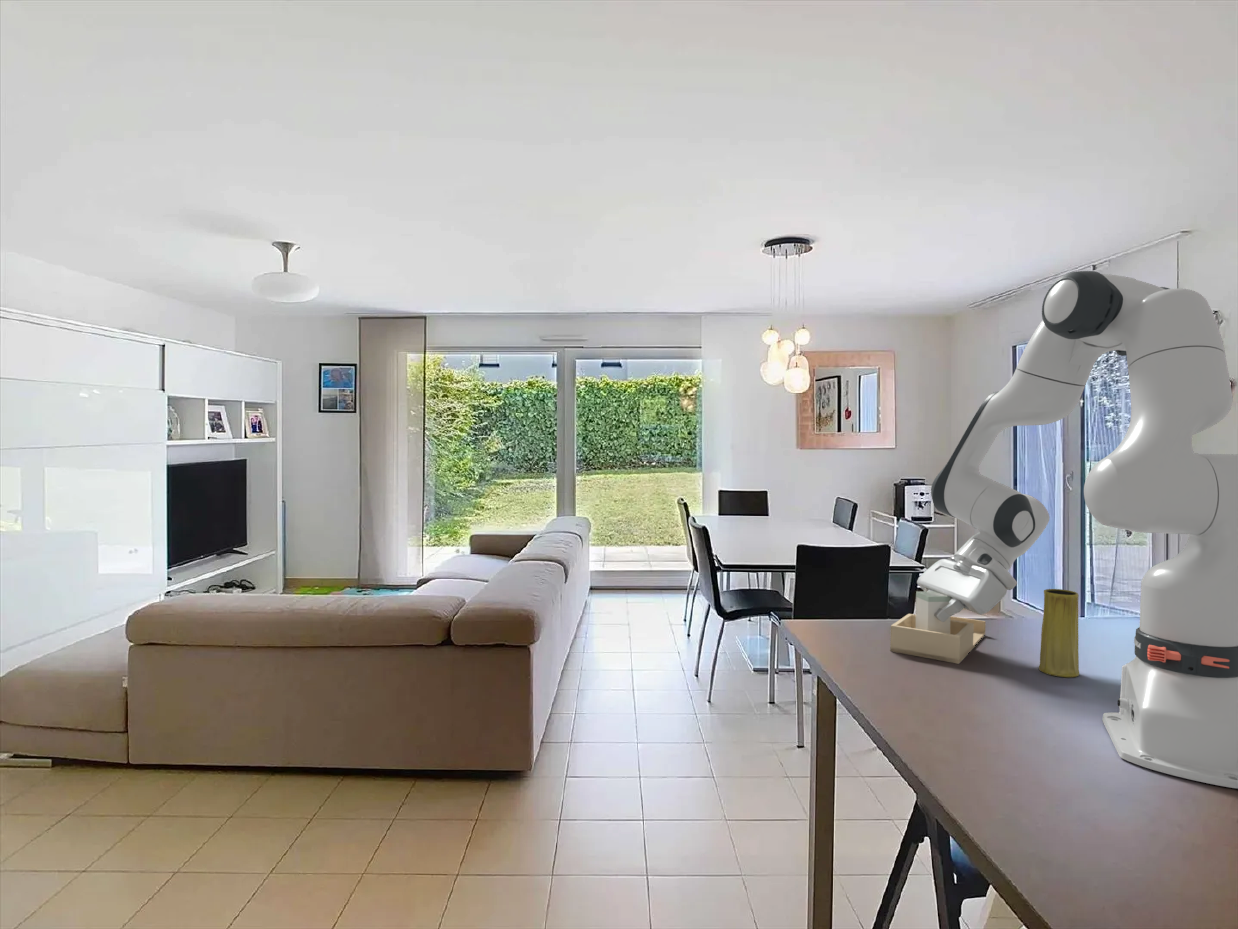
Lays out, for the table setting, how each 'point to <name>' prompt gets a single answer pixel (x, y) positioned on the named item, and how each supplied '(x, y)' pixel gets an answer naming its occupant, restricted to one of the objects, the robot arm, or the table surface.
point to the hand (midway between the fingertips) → (929, 615)
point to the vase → (1060, 634)
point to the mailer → (936, 639)
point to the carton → (931, 611)
